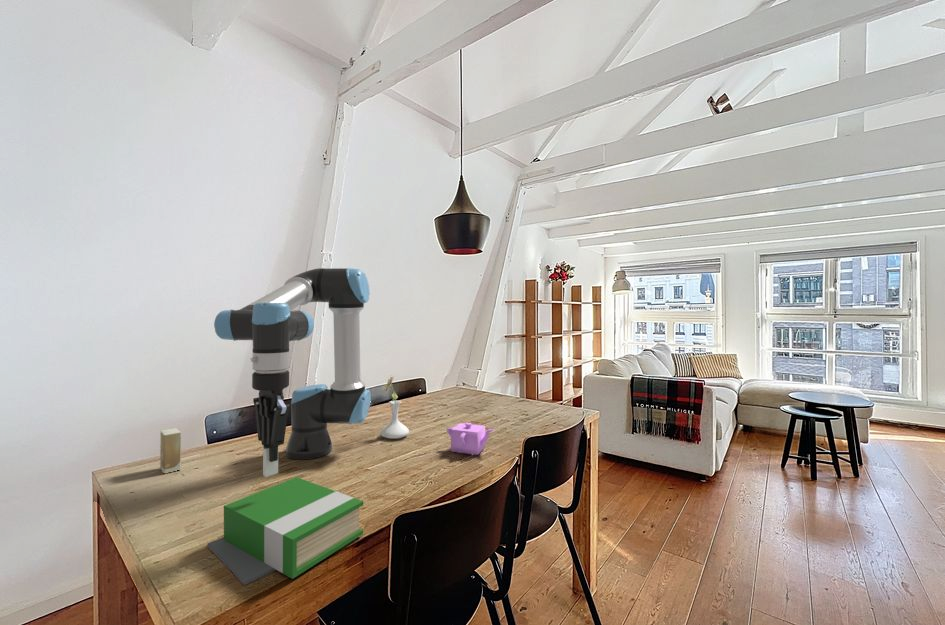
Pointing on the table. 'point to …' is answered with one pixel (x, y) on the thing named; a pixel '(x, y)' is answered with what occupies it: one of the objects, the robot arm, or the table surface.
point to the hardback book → (292, 524)
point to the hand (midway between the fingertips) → (270, 474)
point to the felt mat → (239, 561)
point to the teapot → (468, 438)
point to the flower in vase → (394, 418)
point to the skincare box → (170, 450)
